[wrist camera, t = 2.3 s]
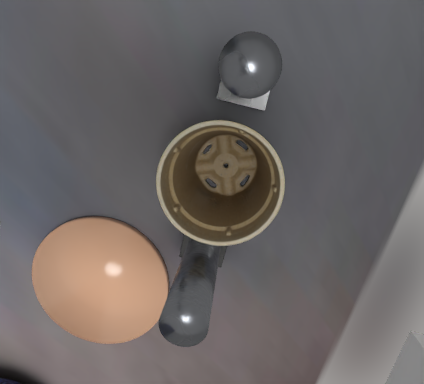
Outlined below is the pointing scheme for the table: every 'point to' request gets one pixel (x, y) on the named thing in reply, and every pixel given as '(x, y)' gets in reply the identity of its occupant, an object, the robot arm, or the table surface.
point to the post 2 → (249, 69)
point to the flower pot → (220, 183)
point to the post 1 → (191, 294)
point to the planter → (8, 381)
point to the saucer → (100, 279)
